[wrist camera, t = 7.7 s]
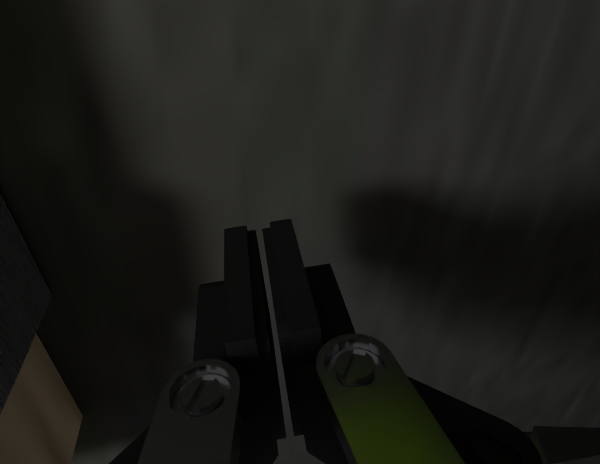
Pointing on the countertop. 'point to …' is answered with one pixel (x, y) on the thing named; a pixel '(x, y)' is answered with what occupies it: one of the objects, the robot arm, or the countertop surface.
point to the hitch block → (39, 414)
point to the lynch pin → (17, 301)
